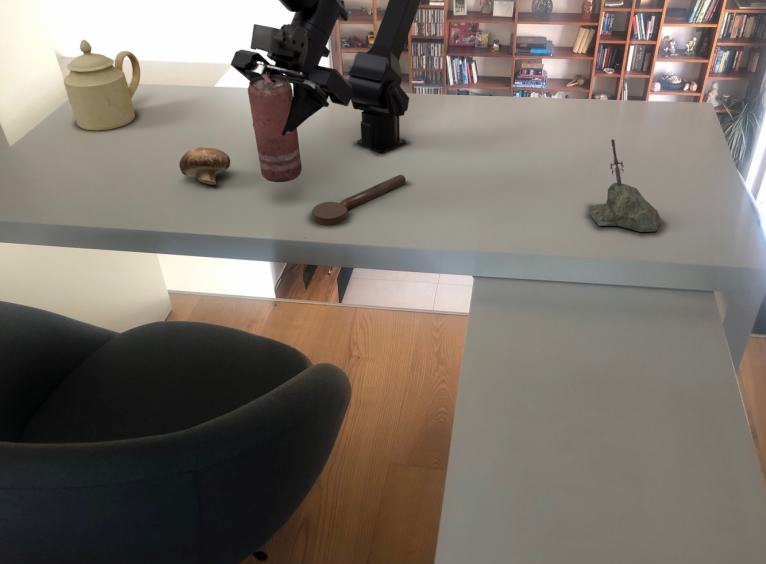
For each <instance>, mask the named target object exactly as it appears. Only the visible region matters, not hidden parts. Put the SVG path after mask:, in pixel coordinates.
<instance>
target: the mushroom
mask: <svg viewBox="0 0 766 564" xmlns="http://www.w3.org/2000/svg"><path fill="white" fill-rule="evenodd" d="M178 166H179V169H180V173H181V174H182V175H183V176H187V177H191V178H196V179H197V181H198V182H200V183H202V184H206V185H207V184H208V185H211V186H215V185H217V181H216V176H217V175H218V174H220V173H223V172H225V171H227V170H228V169H229V168H230V167H231V158H230V156H229V155H228V154H227V153H226V152H225V151H223V150H221V149H218V148H215V147H203V146H200V147H194V148H191V149H189V150H188V151H186V152H185V153H184V154H183V155H182V157H181V158H180V160H179V165H178Z"/></svg>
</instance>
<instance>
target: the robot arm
mask: <svg viewBox="0 0 766 564" xmlns="http://www.w3.org/2000/svg"><path fill="white" fill-rule="evenodd" d="M421 1H422V0H388V2H387V5H386V8H385V10H384V13H383V16H382V19H381V21H380V24H379V27H378V29H377V32H376V34H375V37H374V41H373V43H372V45H371V48H369V49H368V50H367V51H366V52H363V51H357V53H356V54H355V55H354V59H353V63H352V66H351V68H350V70H349V72H348V73H347V74H348V76H349V77H348V79H346V78H345V77H344V76H343V75H342V74H341V72H339V71H338V69H337V68H331V67H327V66H322V65H320V62H321V60H322V57H323V58H326V59H328V58H329V57H330V53H331V49H329V48H328V47H327V45H328V43H329V40H330V37H331V35H332V32H333V30H334V29H335V28H334V27H335V25H336V23H337V21H341V22H348V20H349V16H348V15H349V14H348V12H347V9H346V7H345V0H278V2H280V4H282V6H283V7H284V8H285V9H286V10H287V11H288V12H291V13H294V14H293V17H292V20H291V21H290V23H288V24H285V23H283V25H282V26H280V28H278V27H272V26H267V25H262V24H256V23H253V26H252V27H253V28H252V34H251V40H250V41H251V42H250V50H251V51H250V50H247V49H239V50H237V51H235V52H234V55H233V57H232V59H231V62H230V66H231V67H233V69H235V70H236V71H237V72H238V73H240V75H242V76H243V77H244V78H245V79H247V81H249V82H250V81H251V80H252V79H254V78H257V77H261V76H262V75H280V76H284V77H286V78H288V81H289V83H290V84H291V85H292V93H293V99H292V101H291V108H290V112H289V116H288V119H287V122H286V125H285V127H284V129H283V131H282V135H283V136H284V135H285V134H286V133H287V131H289V132H293V131H294V130H295V129H296V128H297V129H298V128H299V127H300V126H301V125H302V124H303V123H304V122H306V120H308V119H309V118H310V117H311V116H312V117H313V115H315V114H316V113H317V112H318V111H320V110H322V108H324V107H325V108H328V107H329V106H330V103H329V101H328V99H329V100H330V102H331V103H332V104H336V105H339V106H344V107H348V106H349V105H350V102H351V105H352V108H353V110H359V111H361V121H360V138H359V139H358V140H356V144H357V145H360V146H362V147H364V148H366V149H369V150H371V151H374V152H375V153H379V154H383V153H387V152H388V151H390V150H393V149H395V148H398V147H399V146H403V145H405V144H406V143H407V140H406V139H404V138H402V137H401V134H400V117H403V116H405V113H406V112H407V111H408V109H409V103H410V97H409V95H408V94H407V93H406V92H405V90H404V89H403V88H402V87H401V84H402V80H403V76H402V70H401V65H400V60H401V57H402V53H403V51H404V47H405V45H406V42H407V39H408V36H409V34H410V31H411V28H412V26H413V23H414V20H415V18H416V14H417V13H418V9H419V7H420V4H421ZM252 50H253V51H252ZM256 50H259V51H263V52H267V53H266V57H267V58H268V59H269V60H270V61H273V62H274V64H271V63H270V62H269V61H268V60H267V59H266V58H265V57H264V56H263V55H262V54H261V53H259V52H256ZM252 127H253V128H254V125H253V124H252Z"/></svg>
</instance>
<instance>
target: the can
mask: <svg viewBox="0 0 766 564" xmlns="http://www.w3.org/2000/svg"><path fill="white" fill-rule="evenodd" d="M247 94H248V100H249V106H250V113H251V119H252V126H253V125H254V127H253V131H254V132H253V133H254V137H255V143H256V149H257V155H258V161H259V167H260V173H261V175H262V177H263V178H264V179H265V180H266V181H268V182H272V183H286V182H290V181H293V180H295V179H297V178H298V177H299V176H300V175H301V173H302V171H303V165H302V157H301V152H300V151H301V149H300V142H299V135H298V134H299V133H298V127H297V128H296V129H295V130H294V131H293V132H289V131H287V133H286V134H285V135H284V136H283V135H282V131H283V129H284V127H285V125H286V122H287V119H288V116H289V112H290V108H291V101H292V99H293V85H292V83H289V81H288V78H286V77H284V76H280V75H262V76H261V77H257V78H254V79H252V80H251V81H249V82H248V87H247Z"/></svg>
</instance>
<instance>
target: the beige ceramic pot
mask: <svg viewBox="0 0 766 564" xmlns="http://www.w3.org/2000/svg"><path fill="white" fill-rule="evenodd" d="M79 50H80V51H81V52H82V53H83V54H81V55H78V56H76V57H74V58H73V59H71V61H70V63H68V64H67V65H66V69H67V70H68V71H69V74H67V75H66V76H65V77H63V84H64V88H65V92H66V95H67V98H68V101H69V104H70V108H71V110H72V114H73V116H74V118H75V123H76V125H77V126H78V127H79V128H81V129H83V130H87V131H107V130H108V131H109V130H114V129H118V128H121V127H124V126H126V125H128V124H130V123H131V122H132V121H134V119H135V118H136V112H135V110H134V105H133V100H132V99H133V97H134V95H135V93H136V92H137V90H138V87H139V84H140V81H141V66H140V63H139V60H138V58H137V56H136V55H135V54H134V53H133V52H131V51H129V50H123V51H119V52H118V53H117V54H116V56H115V58H114V59H115V60H113V59H112V58H110V57H108V56H106V55H104V54H102V53H92V45H91V44H90V43H89V42H88V41H87V40H85V39H82V40H81V41H80V44H79ZM126 57H127V58H128V60H129V61H130V64H131V69H132V72H131V73H132V76H131V81H130V83H129V85H128V81H127V79H126V74H125V71H124V70H123V66H124V65H123V63H124V60H125V58H126Z"/></svg>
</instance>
